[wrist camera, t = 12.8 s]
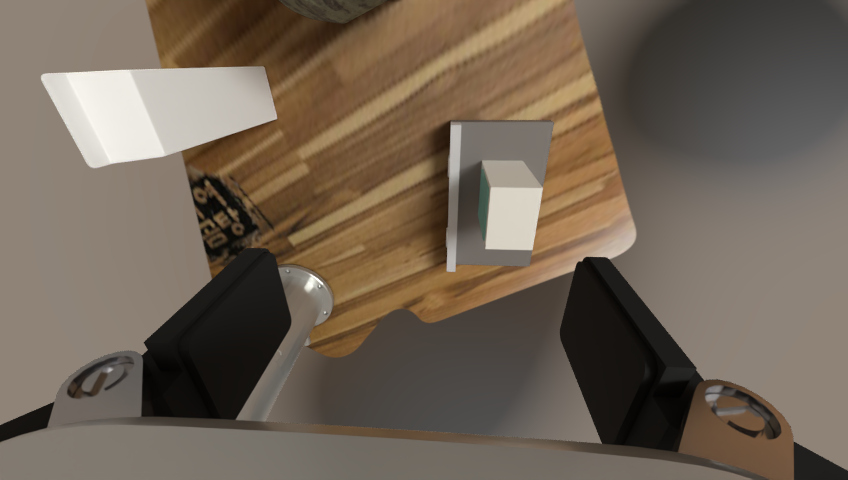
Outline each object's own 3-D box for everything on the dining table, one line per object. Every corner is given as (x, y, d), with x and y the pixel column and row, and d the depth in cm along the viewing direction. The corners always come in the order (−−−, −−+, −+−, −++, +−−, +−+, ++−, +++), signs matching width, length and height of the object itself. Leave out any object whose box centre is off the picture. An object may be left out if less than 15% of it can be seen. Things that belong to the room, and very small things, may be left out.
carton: (515, 212, 44) (532, 250, 35) (476, 211, 44) (483, 249, 36) (522, 160, 41) (542, 188, 32) (480, 160, 41) (488, 187, 32)
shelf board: (527, 260, 49) (532, 274, 46) (445, 258, 50) (445, 271, 47) (550, 120, 40) (558, 125, 36) (449, 120, 40) (449, 125, 37)
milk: (234, 121, 42) (51, 172, 23) (217, 68, 39) (-8, 76, 20) (279, 118, 42) (130, 170, 22) (265, 64, 39) (81, 70, 20)
